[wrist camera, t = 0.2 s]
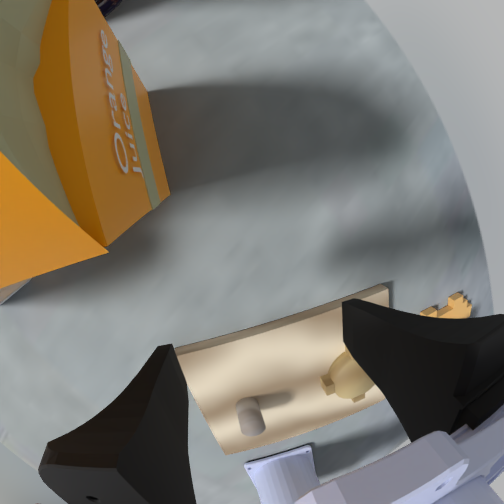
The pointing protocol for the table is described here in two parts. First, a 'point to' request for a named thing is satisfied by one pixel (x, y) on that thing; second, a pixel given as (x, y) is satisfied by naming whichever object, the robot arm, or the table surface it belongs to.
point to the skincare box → (11, 290)
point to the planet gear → (451, 308)
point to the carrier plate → (279, 377)
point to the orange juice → (69, 138)
